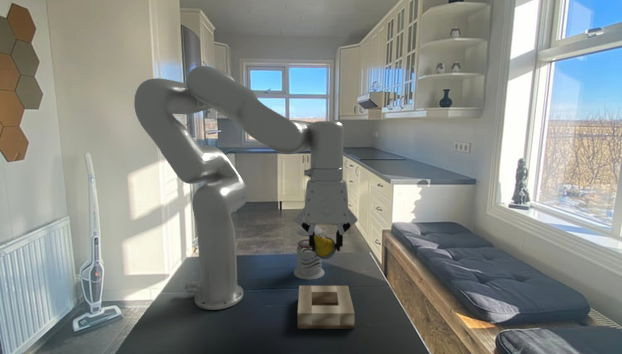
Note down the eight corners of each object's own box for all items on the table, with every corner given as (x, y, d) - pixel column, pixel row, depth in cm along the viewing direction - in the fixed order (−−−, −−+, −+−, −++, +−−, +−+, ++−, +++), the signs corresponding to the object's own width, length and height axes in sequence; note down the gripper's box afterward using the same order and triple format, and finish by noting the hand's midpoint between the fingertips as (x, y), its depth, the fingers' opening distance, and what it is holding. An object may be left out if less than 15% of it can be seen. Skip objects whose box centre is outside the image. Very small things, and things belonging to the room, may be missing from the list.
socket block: (297, 328, 76) (297, 313, 75) (299, 298, 89) (299, 285, 88) (354, 328, 76) (354, 313, 75) (347, 299, 89) (347, 285, 88)
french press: (289, 268, 107) (289, 193, 103) (321, 263, 112) (322, 190, 108) (300, 281, 98) (300, 199, 94) (335, 275, 103) (336, 196, 99)
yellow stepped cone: (342, 260, 80) (326, 241, 74) (322, 266, 82) (304, 249, 75) (338, 241, 84) (322, 222, 77) (319, 248, 85) (302, 229, 79)
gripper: (288, 177, 73) (289, 255, 76) (366, 177, 73) (363, 255, 76) (290, 172, 80) (291, 243, 83) (360, 172, 81) (358, 243, 83)
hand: (325, 248), depth 80 cm, fingers closed on yellow stepped cone, 5 cm apart
